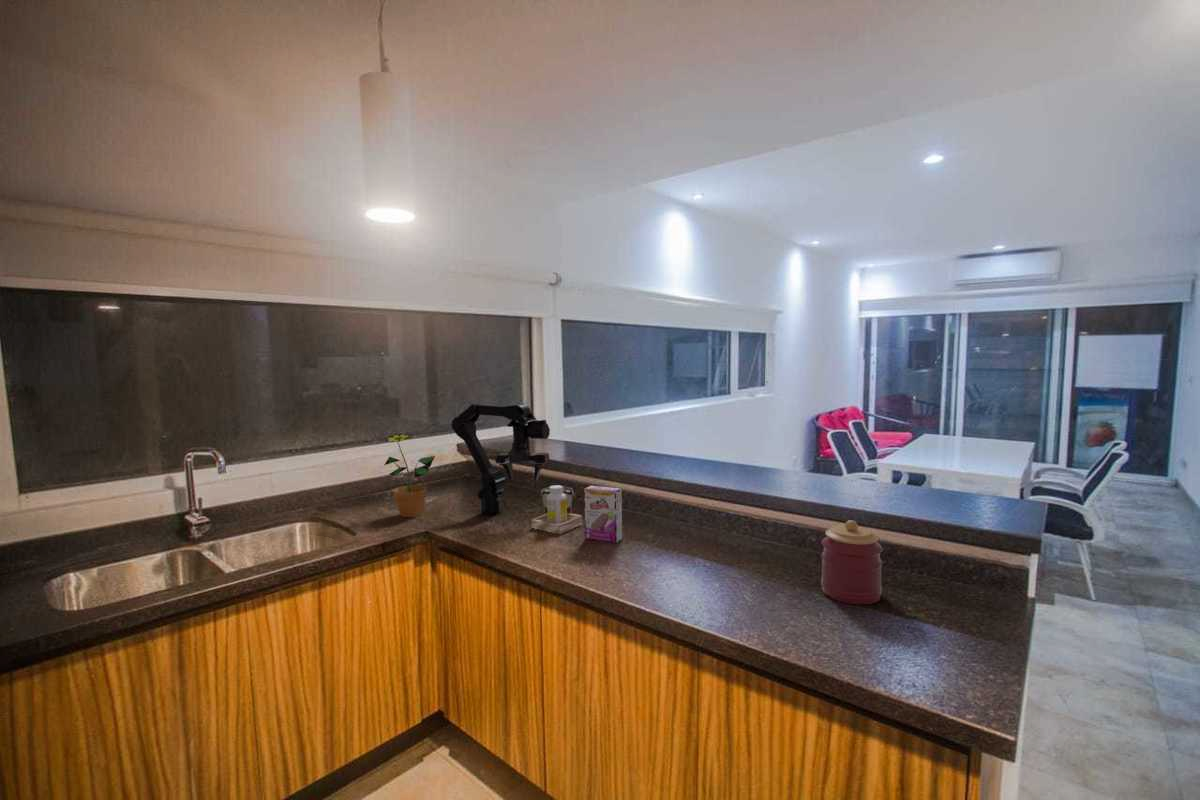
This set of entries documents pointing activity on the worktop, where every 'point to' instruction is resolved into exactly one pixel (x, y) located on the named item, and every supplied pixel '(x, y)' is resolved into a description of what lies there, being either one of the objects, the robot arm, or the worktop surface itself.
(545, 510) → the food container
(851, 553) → the canister
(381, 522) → the worktop surface
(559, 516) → the supplement bottle
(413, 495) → the potted plant
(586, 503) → the candy bar box
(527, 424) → the robot arm
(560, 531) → the box
